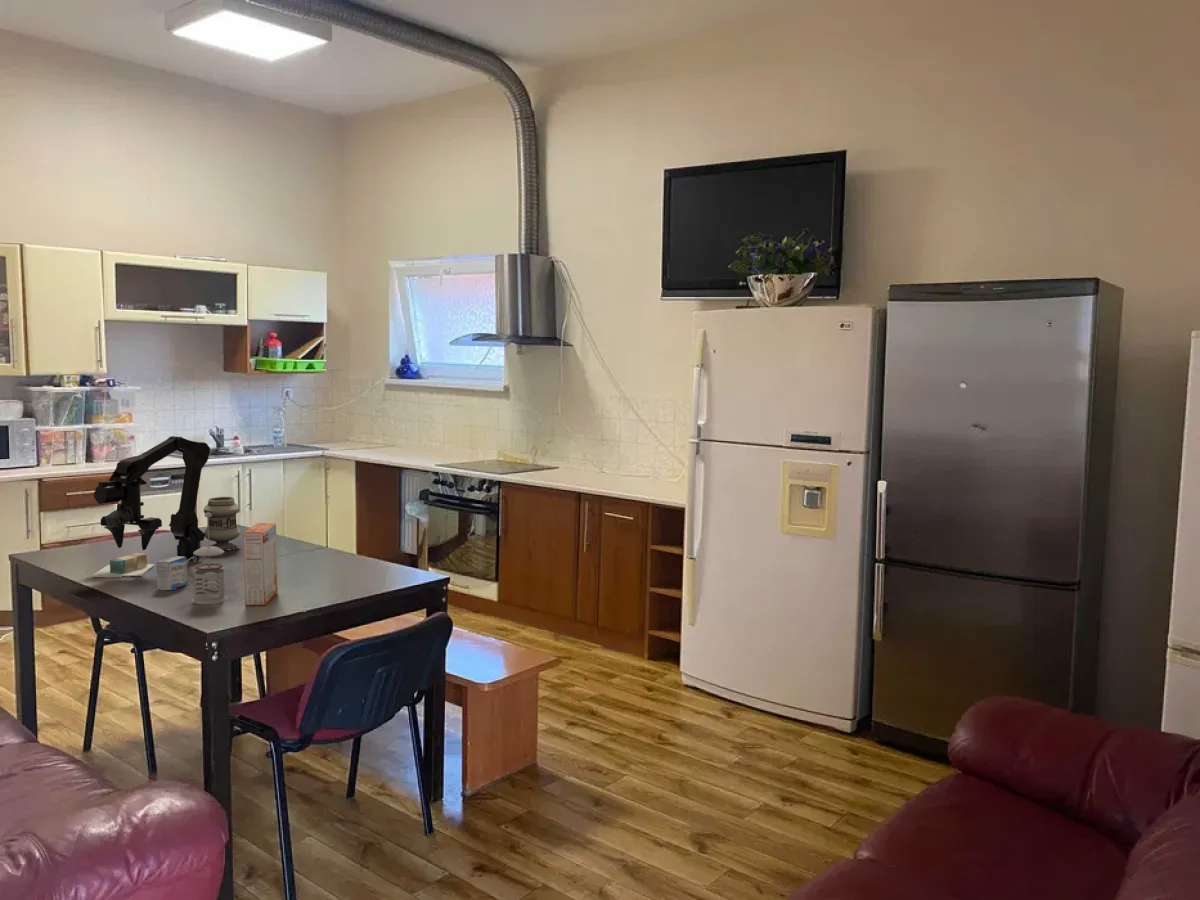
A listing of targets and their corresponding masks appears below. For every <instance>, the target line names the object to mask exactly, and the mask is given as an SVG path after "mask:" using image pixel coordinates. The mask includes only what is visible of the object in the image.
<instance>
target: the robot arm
mask: <svg viewBox="0 0 1200 900" xmlns="http://www.w3.org/2000/svg"><path fill="white" fill-rule="evenodd" d="M175 452H180V453H182V461H183V463H184V466H185V469H184V476H183V481H182V489H181V496H180V501H179V507H178V510H177V512H176V513H171V515H170V522H169V524H168V527H169V528H170V530H169V531H170V532H171V533H172V535H173V537H174V540H175V541H178V544H177V545H176V556H182V557H186V561H187V560H188V559H190V558H191V557H193V556H196V555H194V554H193V553H194V551H196V550H198V549H200V548H202V547H201V546H202V545H201V542H203V541H204V540H205V538H206V537H205V534H204V531H203V530H201V529H200V528H199V518H198V516H197V513H196V506H197V500H198V494H199V487H200V482H201V481H200V480H201V474H202V470H203V468H204V466H205V465H206V464H207V462H208V460H209V458H210V453H211V448H210V446H209V444H208V443H206V442H205V441H204V442H203V441H193V440H189V439H186V438H184V437H182V436H178V435H177V436H174V435H172V436H169V437H168V438H167V439H165V440H163V441H162V442H160V443H158V444H156V445H154V446H153V447H151V448H150V449H147V450H146V451H144V452H142V453H141V454H138V455H134V456H130V457H128V458H127V457H126V458H123V459H120V460H119V462H117V463H116V468H115V469H114V471H113V472H112V474H111V476H110V477H109V479H108V481H98V485H97V486H96V488H95V490H94V493H93V495H94V496H93V497H94V499H95V501H96V503H98V504H99V505H104V504H112V503H117V505H116V510H113V511H111V512H110V513H109V514H107V515H104V516H102V517H101V518H100V526H102V527H103V528H104V529H106V530H108V531H109V532H110V533H111V535H112V536H113V539H114V541H115V544H116V546H117V548H119V549H121V548H122V547H123V541H124V534H125V526H126V525H128V526H130V525H131V526H138V528H139V529H138V530H137V531H138V532H139V534H140V538H141V539H140V540H141V548H142V549H141V550H142V551H145V550H147V548H148V546H149V543H150V541H151V540H152V537H153V535H154V534H155V532H156V531H157V530H159V528H162V527H163V521H162V519H161V518H160V517H153V516H152V517H151V516H150V517H147V518H146V517H145V514H142V506H144V501H141V486H144V485H147V481H146V480H144V479H143V478H142V476H143V475H145V474H146V473H147V472H148V470H149V468H151V466H153V465H155V464H156V463H158V462H160V461H161V460H163V459H164V458H166V457H168V456H170V455H172V454H173V453H175ZM119 502H120V503H119ZM196 557H197V558H196V561H197V560H199V559H200V558H201V557H202V556H196ZM193 558H194V560H195V557H193ZM193 558H192V559H190V560H189V561H193Z"/></svg>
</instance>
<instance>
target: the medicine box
mask: <svg viewBox="0 0 1200 900" xmlns="http://www.w3.org/2000/svg"><path fill="white" fill-rule="evenodd" d="M186 561H187V560H186V557H182V556H177V555H176V556H171V557H167V558H165V559H161V560H159V561H156V578H157V580H156V581H157V590H158V589H160V590H159V591H165V590H172V589H175V588H177V589H179V588H178V587H180V588H181V586H182V587H184V585H185V586H187V585H188V580H187V579H188V576H187V573H188V572H187V573H186V565H185V563H186ZM186 564H187V563H186ZM184 565H185V575H186V577H187V579H186V577H185V575H184ZM187 565H188V564H187ZM175 590H176V589H175ZM172 591H173V590H172Z"/></svg>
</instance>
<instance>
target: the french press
mask: <svg viewBox="0 0 1200 900" xmlns="http://www.w3.org/2000/svg"><path fill="white" fill-rule="evenodd" d="M204 517H205V518H207V517H208V539H207V546H202V547H201V548H200V549H198V550H196V551H194V553H193V554H194V555H196V556H201V557H215V556H221V555H224V553H225V551H223V550H222V549H220V548H218V547H213V546H211V545H210V540H209V517H212V514H211V513H209V512H208V513H204ZM196 556H193V557H195V560H194V558H193V557H191V558H190V559H192V558H193V560H192V561H193V562H194V563H196V562H197V560H196V558H197V557H196ZM190 559H188V560H186V563H187V564H186V563H185V565H186V573H187V577H186V575H185V565H184V575H185V577H186V579H187V582H190V583H191V584H193V592H194V593H193V595H194V596H193V598H192V599H191V600H192V602H193V603H192V602H191V603H192V604H195V603H196V604H195V605H214V604H220V603H224V602H226V601H227V600H229V597H228V596H227V595H225V570H224V569H222V567H223V564H221V563H215V562H214V563H212V562H211V561H210V560H208V563H202V564H201V563H200V564H197V565H195V567H194V568H195V569H196V571H194V577H193V578H191V577H190V575H189V574H188V563H189V562H190V561H191V560H190ZM207 573H209V574H207ZM209 586H210V587H209Z"/></svg>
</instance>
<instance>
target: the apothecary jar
mask: <svg viewBox="0 0 1200 900" xmlns="http://www.w3.org/2000/svg"><path fill="white" fill-rule="evenodd" d="M208 512H209V513H211V514H212V517H209V541H212V542H215V543H213V544H211V545H210V546H213V547H218V548H220V549H222V550H227V549H233V548H236V547H237V548H238V546H237V545H236V544H233V543H232V542H230V541H234V540H235V539H238V538H239V536H241V534H242V533H241V528H240V527H239V526H237V514H238V513H239V512H240V506H239V505H238V504H237V503H236V502H235V498H234V497H233V496H217V497H215V496H214V497H210V498H208V500H207V504H206V505H205V506H204V508H203V513H204V514H205V513H208ZM206 519H207V527H206V528H205V530H204V531H203V533H204V534H205V537H204V538H206V539H207V540H208V517H206ZM237 548H236V549H237Z"/></svg>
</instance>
